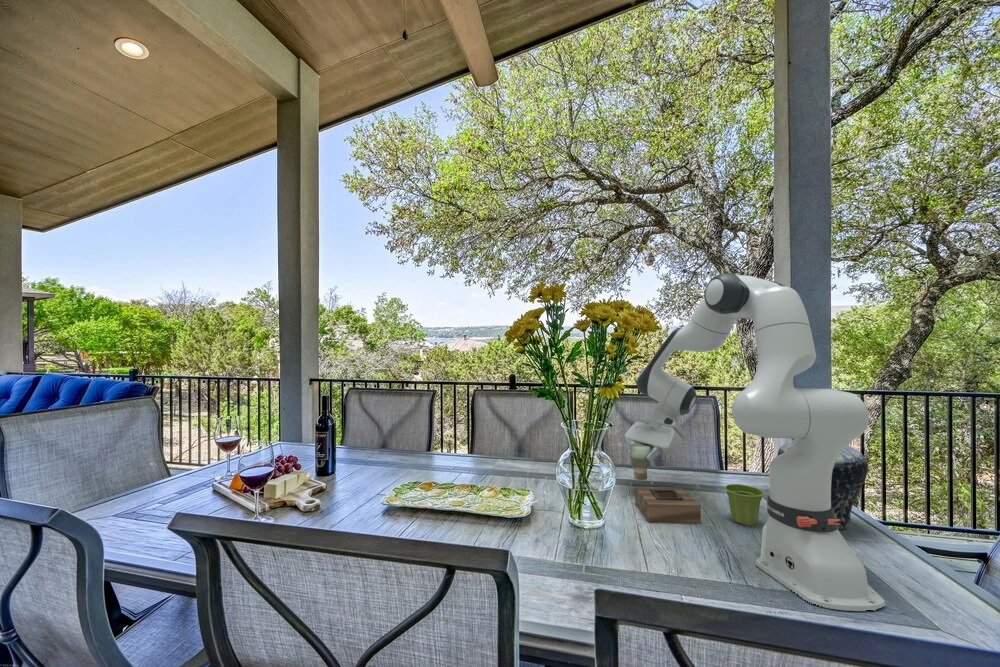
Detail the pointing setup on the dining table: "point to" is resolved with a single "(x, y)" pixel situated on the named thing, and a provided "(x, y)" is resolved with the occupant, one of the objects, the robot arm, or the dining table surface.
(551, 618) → the dining table surface
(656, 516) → the hole block
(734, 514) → the plant pot
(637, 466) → the peg
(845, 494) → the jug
